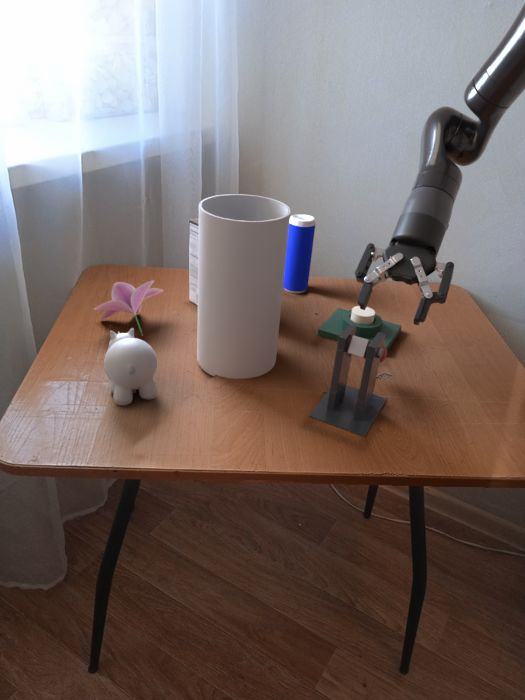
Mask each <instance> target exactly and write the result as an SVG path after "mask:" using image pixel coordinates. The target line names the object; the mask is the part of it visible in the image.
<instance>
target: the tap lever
mask: <svg viewBox="0 0 525 700" xmlns="http://www.w3.org/2000/svg"><path fill="white" fill-rule="evenodd" d="M370 343H371V341H370V340H367V339H364V338H361V337H357V336H354V335H353V337H352V340H351V343H350V346H349V349H348V353H350V354H352V355H353V356H356V357H359V358H363V359H364V360H365V359H366V354H367V349H368V345H369V344H370ZM383 349H384V351H383V355H382V357H381V359H380V363H379V364H381V363H383V362H384V361H385V360H386V358H387V355H388V351H387V349H386V347H385V345H384V344H383Z"/></svg>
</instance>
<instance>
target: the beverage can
mask: <svg viewBox="0 0 525 700" xmlns="http://www.w3.org/2000/svg"><path fill="white" fill-rule="evenodd" d="M315 231H316V219H315V217H314V216H312V215H310V214H305V213H295V214H292V215H290V221H289V232H288V242H287V252H286V262H285V272H284V283H283V290H284V291H286V292H287V293H290V294H302V293H305V292H306V291H307V290H308V288H309V279H310V274H311V273H310V272H311V263H312V256H313V255H312V254H313V247H314V238H315Z"/></svg>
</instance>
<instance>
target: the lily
mask: <svg viewBox="0 0 525 700" xmlns="http://www.w3.org/2000/svg"><path fill="white" fill-rule="evenodd" d="M154 283H155V279H152V280H150V281H147V282H145V283H143V284H140V285H139V286H138V287H137V288H136V287H135V286H133V284H130V283H128V282H124V281H116V282H114V283H113V285H112V287H111V300H108V301H105V302H103V303H101V304H98V305H97V306H96V307H94V308H92V310H93V311H103V313H102V315H101V317H100V321H101V322H104V321H105V320H107V319H108V318H107V317H109V318H110V317H112V316H114V315H116V314H118V313H120V312H123V313H128V314H133V316H134V319H135V322H136V324H137V327H138V329H139V333H140V335H141V337H143V336H144V333H143V330H142V328H141V325H140V323H139V319H138V317H137V316H138V315H139V314H140V313H141V310H142V302H144V301H145V300H147V299H149V298H152V297H153V296H156V295H159V294H161V293H163V292H164V291H165V289H163V288H157V287H152V285H153V284H154ZM138 312H140V313H138ZM103 318H106V319H103ZM101 319H103V320H101ZM141 333H143V334H141Z"/></svg>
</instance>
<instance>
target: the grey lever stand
mask: <svg viewBox="0 0 525 700" xmlns="http://www.w3.org/2000/svg"><path fill="white" fill-rule="evenodd" d="M356 328H357V326H356V325H353V324H349V326H348V327H347V328H346V329H345V330H344V331H343V332H342V334H341V335H340V336H339V338H338V341H336V342H337V343H336V351H335V357H334V362H333V369H332V377H331V382H330V386H329V387H330V388H329V389H328V390H327V392H326V393H325V394H324V395H323V397H322V398H321V399H320V400H319V401H318V404H316V406H315V407H314V409H312V411H311V412H310V414H309V415H308V417H309V418H311V419H314V420H317V421H319V422H321V423H324V424H327V425H330V426H333V427H335V428H339V429H341V430H343V431H346V432H349V433H351V434H354V435H357V436H359V437H362V438H365V437H366V435H367V434H368V431H369V430H370V429H371V427H372V425H373V423H374V422H375V420H376V418H377V416H378V415H379V413H380V411H382V408H383V406H384V405H385V403H386V401H387V398H386V397H383V396H381V395H377V394H374V391H375V387H376V382H377V377H378V373H379V367H380V364H381V363H380V359H381V357H382V355H383V351H384V349H383V344H384V340H385V335H386V334H384V333H380V332H378V333H377V335H376V336H375V337H374V339H373V340H372V341H371V343H370V344H369V345H368V349H367V354H366V359H364V365H363V369H362V373H361V380H360V385H359V388H356V387H353V386H350V385H347V383H348V379H349V372H350V367H351V361H352V355H353V354H350V353H348V349H349V346H350V343H351V340H352V337H353V335H354V336H355V334H356Z"/></svg>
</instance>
